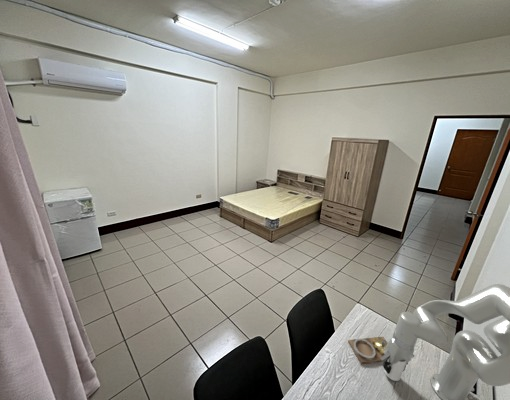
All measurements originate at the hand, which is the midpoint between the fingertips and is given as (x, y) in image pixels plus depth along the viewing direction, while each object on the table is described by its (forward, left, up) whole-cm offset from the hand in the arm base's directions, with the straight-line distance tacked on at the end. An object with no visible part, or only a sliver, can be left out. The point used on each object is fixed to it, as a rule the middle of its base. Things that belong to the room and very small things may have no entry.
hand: (393, 368), depth 95 cm
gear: (-4, -11, -3) cm, 13 cm away
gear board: (+1, -11, -5) cm, 12 cm away
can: (0, 0, -3) cm, 3 cm away
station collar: (+6, -11, -3) cm, 13 cm away
